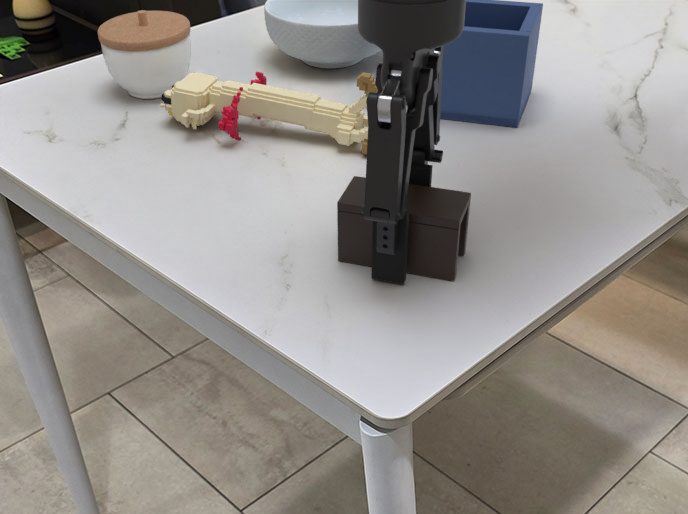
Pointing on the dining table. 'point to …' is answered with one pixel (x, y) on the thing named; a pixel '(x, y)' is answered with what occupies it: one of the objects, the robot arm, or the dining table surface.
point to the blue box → (491, 63)
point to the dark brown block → (423, 234)
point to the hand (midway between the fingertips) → (401, 253)
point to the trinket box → (146, 51)
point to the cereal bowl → (318, 31)
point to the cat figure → (267, 106)
